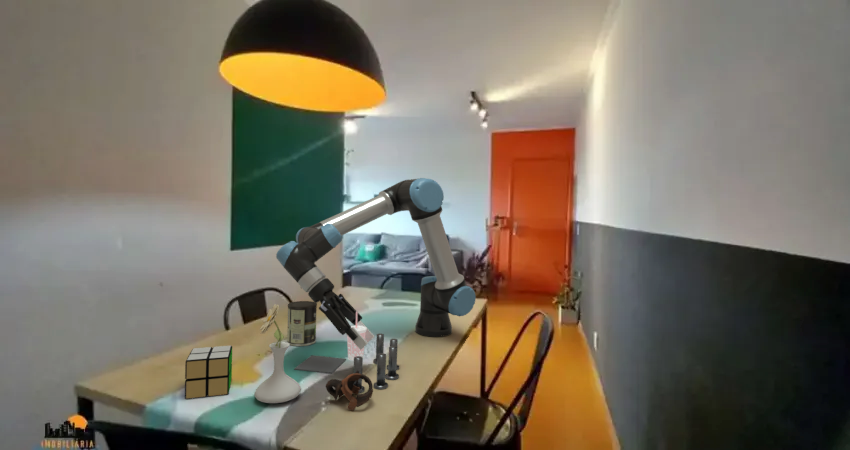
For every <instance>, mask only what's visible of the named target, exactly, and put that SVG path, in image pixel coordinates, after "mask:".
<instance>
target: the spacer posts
mask: <svg viewBox="0 0 850 450" xmlns="http://www.w3.org/2000/svg"><path fill="white" fill-rule="evenodd" d="M398 342H399V341H398V339H397V338H390V339H389V347H388V364H387V353H384V346H385V334H384V333H376V341H375V343H376V345H375V347H376V348H375V358H374V359H372V363H373V364H375V365H376V382H374V383H373V388H374V389H376V390H386V389H387V388H389V384H388V382H386V380H389V381H396V380H398V379H399V378H400V374H398V373H397V371H399V369H400V365H399V364H398V345H399V344H398ZM363 360H364V357H361V356H356V357H354V361H353V372H352V374H354V373H360V374H363V363H364V362H363ZM386 370H387V371H386ZM386 372H387V373H386ZM354 385H355V386H356V387H359V388H360V390H359V392H358V394H363V393H365V390H366V386H364V385H363V379H361V378H360V379H359V380H356V381H355V383H354Z"/></svg>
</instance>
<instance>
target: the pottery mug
mask: <svg viewBox="0 0 850 450" xmlns="http://www.w3.org/2000/svg"><path fill="white" fill-rule="evenodd" d="M360 378H361V379H362V381H364V382H365V383H367V384H368V390H367V391H366V392H363V393H358V392H359V390H360V388H359V387H356V386H355V385H354V383H355V381H356V380H359V379H360ZM373 388H374V384H373V382H372V380H371V378H370V377H369V376H367V375H366V374H363V373H362V374H360V373H354V374H353V373H351V374H348V375H346V377H344V378H343V379H341V380H340V379H337V378H331V379H329V380H328V381H327V382H326V384H325V389H326V391H327V392H328V395H331V396H332V397H333V398H334V400H335V401H337V400H338V399H341V397H343V396H345V398H346V399H347V400H348V401H349V403H348V405H347V410H348V411H354V410H356V408H360V407H361V406H363V405H365V404H366V403H368V402H369V401H370V400H371V399H370V398H372V397H373V392H374V389H373ZM353 394H354V395H356V397H355V396H353Z"/></svg>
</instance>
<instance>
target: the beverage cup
mask: <svg viewBox="0 0 850 450" xmlns="http://www.w3.org/2000/svg"><path fill="white" fill-rule="evenodd" d="M357 313H359V312H358V311H357V310H356V325H350V326H351V328H352V327H354V328H355V329H356V330H357V331H358V333H359V334H360V335H361V336H362V337H363V338H364V339H365V332H366V330H367V328H368V327H367V326H366V325H365V326H366V327H367V328H366V327H365V326H359V325H357ZM346 337H347V360H349V361H353V362H354V357H356V356H361V357H363V358H364V355H365V347H363V348H362V349H361V350H360V349H359V348H358V347H357V345H356V344H355V343H354V342H353V341H352V340H351V339H350V337H349V336H348V335H347V334H346Z"/></svg>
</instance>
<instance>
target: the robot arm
mask: <svg viewBox="0 0 850 450" xmlns="http://www.w3.org/2000/svg"><path fill="white" fill-rule="evenodd" d="M444 198H445V197H444V190H443V188H442V186H441V185H440V184H439V183H438V182H437V181H436V180H434V179H431V178H425V177H420V178H413V179H405V180H401V181H399V182H398V183H397V182H396V183H395V184H394V185H391V186H389V187H387V188H385V189H384V190H381V191H379V192H378V195H376V196H375V197H371V198H370V199H368V200H366V201H364V202H362V203H359V204H357V205H355V206H352V207H350V208H348V209H346V210H344V211H341V212H340V213H337V214H335V215H332V216H330V217H328V218H326V219H324V220H321V221H320V222H317V223H314V224H313V225H310V226H305V227H302V228H300V229H299V230H298V231H297V233H296V234H295V240H290V241H288V242H287V243H285V244H283V246H281V247H280V248H279V249H278V250H277V252H276V254H275V255H276V256H275V257H276V259H277V261H278V262H279V263H280V264H281V266H282V267H283V269H284V270H286V272H287V273H288V274H289V275H290V276H291V277H292V278H293V279H294V280H295V282H296V283H297V284H298V285H299V287H300V289H302V290H303V291H304V292H305V293H307V295H308V296H309V298H310V299H311V301H312V302H315V303H317V304H318V303H319V302H320V304H321V305H320V306H319V307H318V310H319V311H321V312H322V313H323V314H324V315H325V317H326V318H327V319H328V321H330V323H331V324H332V325H333V327H334V328H335V329H336V330H337V332H339V334H341V335H342V336H344V335H346V336H347V335H348V336H349V337H350V339H351V340H352V341H353V342H354V343H355V344H356V345H357V347H358V348H359V349H360V350H361V349H362V348H363V347H364V348H365V347H366V346H367V345H368V343H369V342H371V340H372V339H374V338H375V335H374V334H373V332H372V331H371V330H370V329H369V327H367V326H366V325H365V324H364V323H363V321H362V319H363V316H361V314H360V313H359V312H358V313H357V325H359V326H365V327H366V328H367V330H366V332H365V339H364V338H363V337H362V336H361V335H360V334H359V333H358V331H357V330H356V329H355V328H354V327H352V328H351V326H352V325H353V326H355V325H356V311H357V310H356V309H355V308H354V307H353V306H352V304H350V302H349V301H348V300H347V299H346V298H345V297H344V295H343V294H342V293H340V294H337V293H336V292H334V291H333V290H334V289H335V284H334V283H333V282H332V281H331V280H330V279H329V278H327V277H326V274H325V273H324V272H323V271H322V270H321V269H320V267H318V266H317V264H315V263H317V262H318V261H319V260H320V259H322V258H323V257H324V256H326V255H327V254H328V253H329V252H331V251H332V250H334V249H335V248H336V247H337V246H338V245H339V244H340V243H341V242H342V240H343V237H342V236H344V235H347V234H348V233H350V232H353V231H354V230H356V229H358V228H360V227H362V226H365V225H367V224H369V223H371V222H373V221H375V220H377V219H379V218H381V217H383V216H386V215H390V216H392V215H394V214H396V213H400V212H406V211H407V212H409V215H410V217H411V221H413V222H416V223H417V225H418V227H419V232H420V234H421V237H422V240H423V243H424V246H425V250H426V252H427V255H428V259H429V260H430V263H431V266H432V269H433V272H434V275H430V276H428V275H427V276H424V277H422V278H421V283H420V306H419V307H420V308H419V310H420V311H419V315H418V318H417V319H416V320H417V321H416V323H415V327H414V328H415V329H414V332H415V333H416V334H418V335H421V336H425V337H433V338H438V337H440V338H441V337H447V336H450V335H451V334H452V333H453V332H452V331H453V329H452V328H453V327H452V322H451V319H450V316H449V315H451V316H458V317H464V316H467V314H470V312H471V311H472V310H473V308H474V305H475V304H476V298H477V297H476V292H475V290H474V289H473V288H472V287H471V286H468V285H467V283H466V279H465V277H464V274H461V273H459V271H458V267H457V265H456V262H455V258H454V255H453V252H452V249H451V246H450V243H449V240H448V237H447V233H446V231H445V228H444V224H443V221H442V219H441V218H442V217H441V214H442V213H443V207H442V205H443V201H444ZM350 323H351V324H352V325H351V324H350Z"/></svg>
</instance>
